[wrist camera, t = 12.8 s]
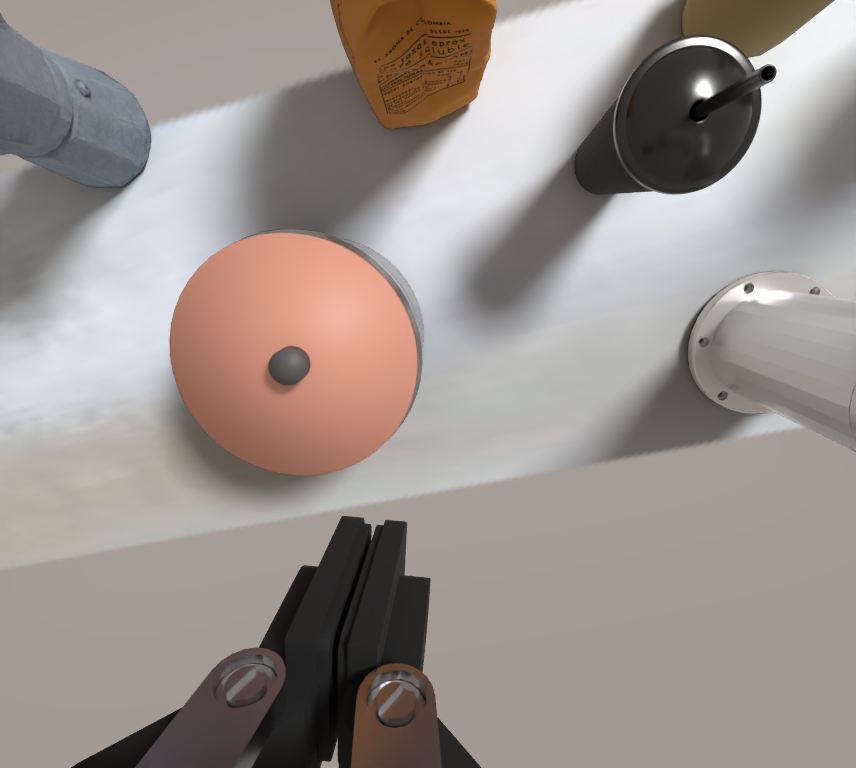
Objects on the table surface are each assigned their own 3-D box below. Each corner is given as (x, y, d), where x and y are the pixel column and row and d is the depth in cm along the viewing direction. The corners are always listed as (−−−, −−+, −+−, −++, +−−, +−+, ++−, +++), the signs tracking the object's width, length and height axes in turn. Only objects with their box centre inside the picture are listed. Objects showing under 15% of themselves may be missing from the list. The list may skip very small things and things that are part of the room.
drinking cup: (561, 220, 39) (674, 192, 20) (551, 122, 37) (667, -16, 18) (653, 203, 39) (861, 156, 19) (649, 101, 37) (875, -63, 17)
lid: (423, 240, 30) (422, 239, 28) (412, 474, 35) (410, 492, 33) (167, 226, 31) (142, 224, 28) (190, 461, 35) (171, 477, 33)
